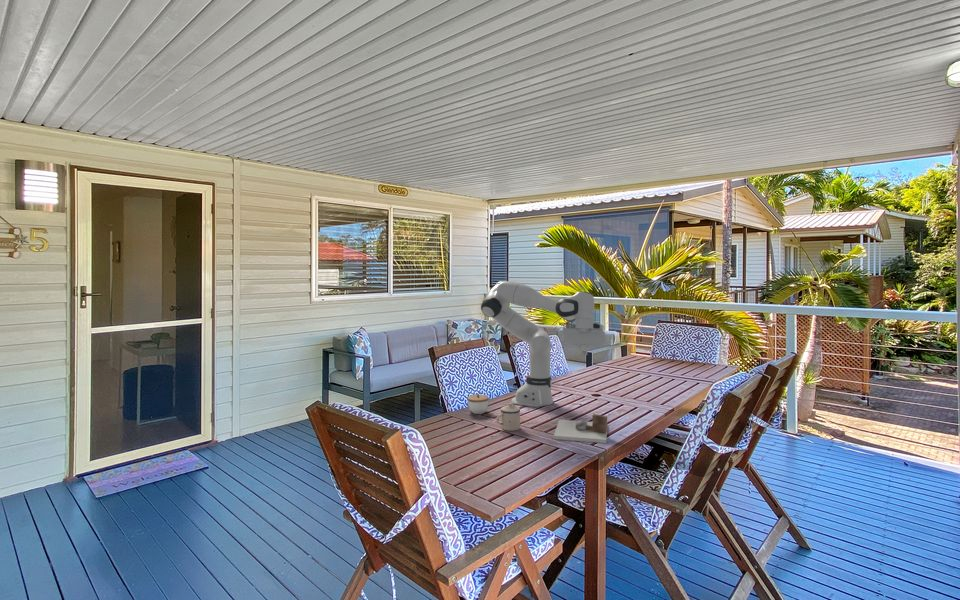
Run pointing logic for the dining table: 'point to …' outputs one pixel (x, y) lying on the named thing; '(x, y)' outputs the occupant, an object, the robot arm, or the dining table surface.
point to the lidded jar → (478, 403)
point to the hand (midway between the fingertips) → (584, 354)
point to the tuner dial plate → (577, 433)
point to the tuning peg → (594, 424)
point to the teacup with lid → (509, 417)
